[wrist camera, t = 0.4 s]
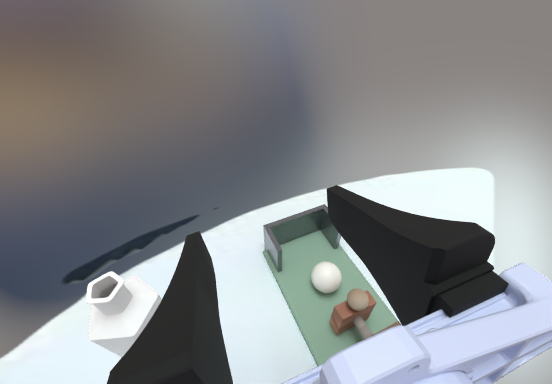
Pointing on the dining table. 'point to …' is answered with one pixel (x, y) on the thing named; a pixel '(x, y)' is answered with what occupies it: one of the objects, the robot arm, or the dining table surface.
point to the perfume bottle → (119, 311)
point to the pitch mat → (323, 294)
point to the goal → (298, 231)
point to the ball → (326, 277)
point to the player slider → (355, 313)
